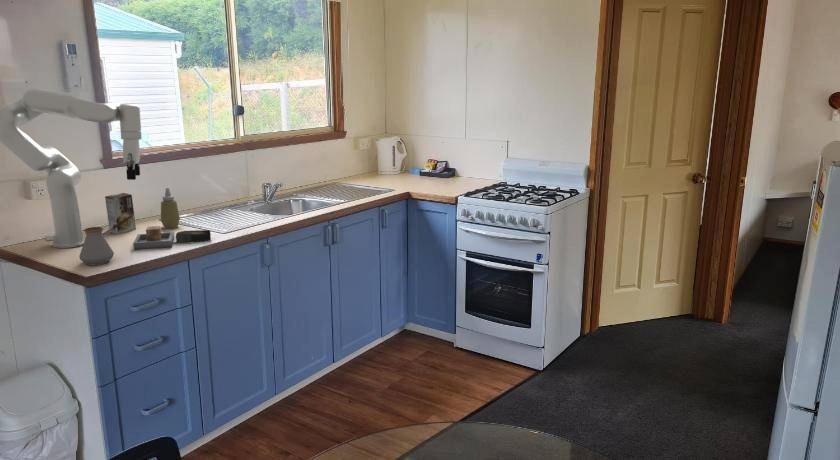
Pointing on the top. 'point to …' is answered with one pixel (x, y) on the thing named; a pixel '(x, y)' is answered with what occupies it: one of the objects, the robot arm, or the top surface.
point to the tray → (154, 242)
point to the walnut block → (153, 233)
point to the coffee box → (120, 212)
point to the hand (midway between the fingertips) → (133, 177)
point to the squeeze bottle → (169, 211)
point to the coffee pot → (97, 245)
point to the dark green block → (192, 236)
